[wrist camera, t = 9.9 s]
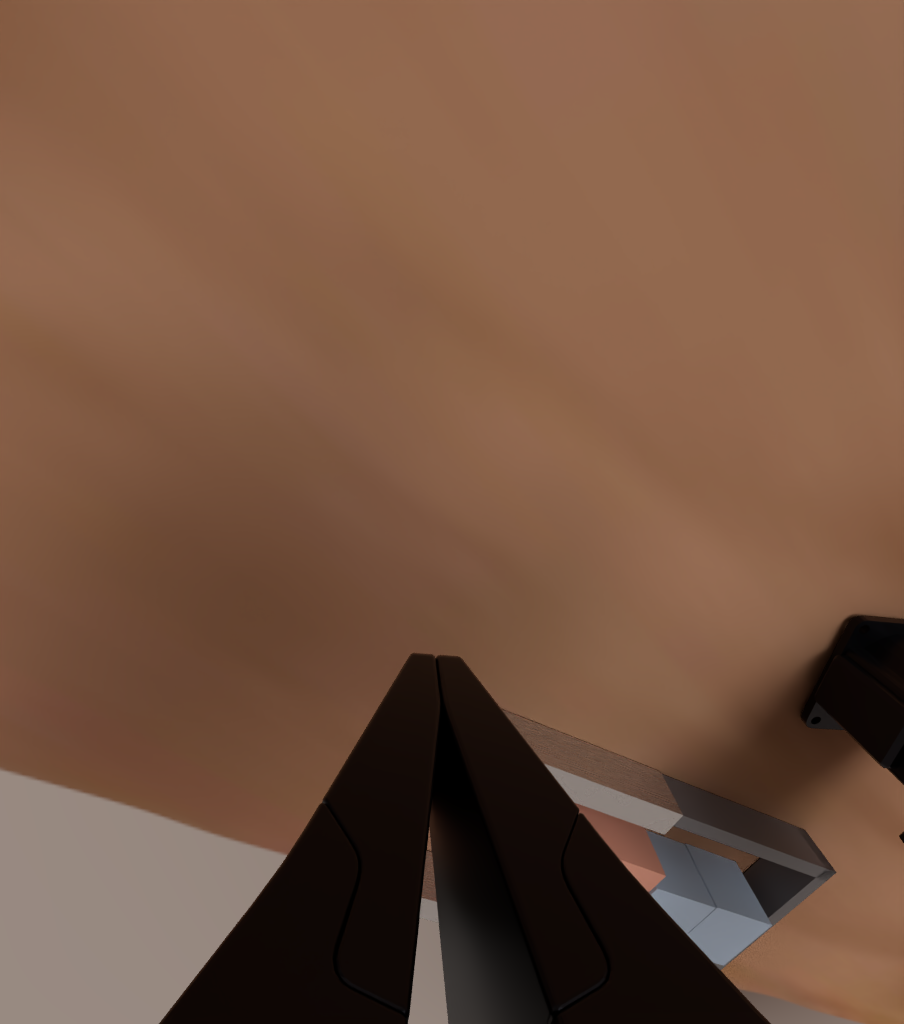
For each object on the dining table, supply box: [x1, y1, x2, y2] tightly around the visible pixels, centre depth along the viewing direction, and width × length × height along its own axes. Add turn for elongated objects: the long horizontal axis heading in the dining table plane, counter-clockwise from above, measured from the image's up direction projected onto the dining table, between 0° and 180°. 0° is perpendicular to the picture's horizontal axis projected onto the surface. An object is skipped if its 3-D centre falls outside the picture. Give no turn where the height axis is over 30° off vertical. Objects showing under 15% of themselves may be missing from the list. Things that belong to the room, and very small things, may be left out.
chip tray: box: [662, 774, 836, 970], centre depth 29 cm, size 11×12×2 cm
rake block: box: [575, 803, 666, 892], centre depth 27 cm, size 7×5×4 cm
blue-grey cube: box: [684, 843, 772, 966], centre depth 29 cm, size 4×4×4 cm
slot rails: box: [420, 710, 683, 923], centre depth 26 cm, size 12×12×2 cm
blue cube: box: [646, 830, 716, 934], centre depth 28 cm, size 4×4×4 cm
